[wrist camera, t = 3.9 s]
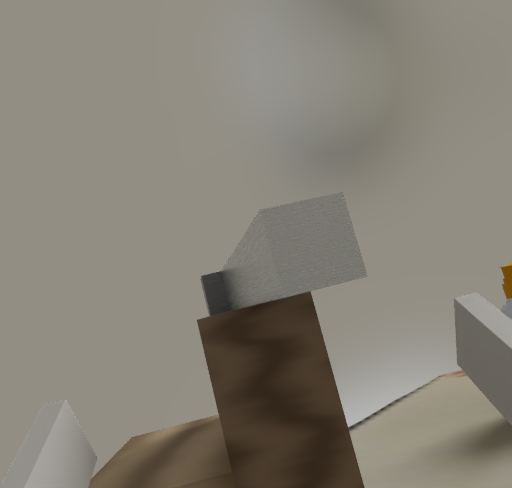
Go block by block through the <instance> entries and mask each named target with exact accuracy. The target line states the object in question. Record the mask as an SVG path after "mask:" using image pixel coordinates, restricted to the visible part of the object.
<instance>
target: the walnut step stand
mask: <svg viewBox="0 0 512 488" xmlns="http://www.w3.org/2000/svg"><path fill="white" fill-rule="evenodd" d="M197 322H198V327H199V331H200V335H201V340H202V344H203V348H204V353H205V357H206V361H207V366H208V370H209V374H210V378H211V383H212V387H213V392H214V396H215V400H216V405H217V409H218V413H219V415H215V416H211V417H208V418H204V419H200V420H196V421H193V422H189V423H185V424H181V425H177V426H174V427H170V428H166V429H162V430H158V431H155V432H151V433H147V434H143V435H140V436H135V437H132V438H131V439H130V440H129V441H128V442H127V443H126V444H125V445H124V446H123V447H122V448H121V449H120V450H119V451H118V452H117V453H116V454H115V455H114V456H113V457H112V458H111V459H110V460H109V461H108V463H106V465H105V466H104V467H103V468H102V469H101V470H100V471H99V472H98V473H97V474H96V475H95V476H94V477H93V478H92V479H91V480H90V484H89V487H88V488H364V485H363V481H362V477H361V474H360V470H359V466H358V463H357V459H356V455H355V452H354V448H353V445H352V441H351V437H350V434H349V430H348V426H347V423H346V419H345V415H344V412H343V409H342V404H341V401H340V398H339V394H338V390H337V386H336V383H335V379H334V375H333V372H332V368H331V365H330V361H329V357H328V353H327V350H326V346H325V342H324V339H323V335H322V332H321V328H320V324H319V321H318V317H317V313H316V310H315V306H314V302H313V299H312V295H311V291H309V292H305V293H301V294H297V295H294V296H290V297H286V298H282V299H278V300H274V301H270V302H265V303H261V304H257V305H253V306H249V307H245V308H241V309H236V310H232V311H228V312H224V313H221V314H217V315H213V316H209V317H206V318H202V319H199V320H197Z"/></svg>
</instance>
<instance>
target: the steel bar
mask: <svg viewBox="0 0 512 488" xmlns="http://www.w3.org/2000/svg"><path fill="white" fill-rule="evenodd" d="M366 276H367V274H366V270H365V266H364V263H363V260H362V256H361V253H360V249H359V246H358V243H357V239H356V236H355V233H354V229H353V226H352V222H351V219H350V216H349V212H348V209H347V206H346V202H345V199H344V195H343V193H337V194H332V195H328V196H323V197H318V198H314V199H309V200H304V201H299V202H294V203H290V204H285V205H281V206H276V207H272V208H266V209H261V210H260V211H259V212H258V214H257V215H256V217H255V218H254V220H253V222H252V223H251V225H250V226H249V228H248V230H247V231H246V233H245V234H244V236H243V238H242V239H241V241H240V242H239V244H238V245H237V247H236V249H235V250H234V252H233V253H232V255H231V256H230V258H229V260H228V261H227V263H226V264H225V266H224V268H223V269H222V271H220V272H216V273H212V274H208V275H204V276H201V283H202V288H203V291H204V296H205V300H206V304H207V309H208V313H209V316H213V315H217V314H221V313H224V312H228V311H232V310H236V309H241V308H245V307H249V306H253V305H257V304H261V303H265V302H270V301H274V300H278V299H282V298H286V297H290V296H294V295H297V294H301V293H305V292H309V291H313V290H317V289H320V288H324V287H328V286H332V285H336V284H340V283H343V282H347V281H351V280H355V279H359V278H363V277H366Z"/></svg>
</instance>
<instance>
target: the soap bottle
mask: <svg viewBox="0 0 512 488" xmlns="http://www.w3.org/2000/svg"><path fill="white" fill-rule="evenodd" d="M500 268H501V269H502V272H503V275H504V277H505V278H504V279H503V281H504V283H505V284H502V286H503V289H504V292H505V295H506V298H507V302H506V304H505V305H503V307H502V309H501V312H502V313H504V314H505V315H506V316H507V317H509V318H510V319H511V320H512V263H509V264H508V265H506V266H503V267H500Z"/></svg>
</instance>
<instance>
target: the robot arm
mask: <svg viewBox="0 0 512 488" xmlns="http://www.w3.org/2000/svg"><path fill="white" fill-rule="evenodd" d="M454 308H455V327H456V346H457V364H458V365H459V366H460V367H461V369H462V370H463V371H464V372H465V373H466V374H467V376H468V377H469V378H470V379H471V380H472V381H473V382H474V384H475V385H476V386H477V387H478V388H479V389H480V390H481V391H482V393H483V394H484V395H485V396H486V397H487V398H488V399H489V401H490V402H491V403H492V404H493V405H494V406H495V407H496V408H497V410H498V411H499V412H500V413H501V414H502V415H503V416H504V418H505V419H506V420H507V421H508V422H509V423H510V424H511V426H512V320H511V319H510V318H509V317H507V316H506V315H505V314H504V313H502V312H501V311H500V310H498V309H497V308H496V307H494V306H493V305H492V304H491V303H489V302H488V301H487V300H485V299H484V298H483V297H482V296H480V295H479V294H478V293H477V292H476V293H472V294H468V295H464V296H460V297H456V298H454ZM96 460H97V456H96V455H95V453H94V451H93V449H92V447H91V445H90V443H89V441H88V440H87V438H86V436H85V434H84V432H83V430H82V428H81V427H80V425H79V423H78V421H77V419H76V417H75V415H74V414H73V412H72V410H71V408H70V406H69V404H68V402H67V401H66V399H63V400H59V401H56V402H52V403H48V404H44V405H42V407H41V409H40V411H39V413H38V415H37V417H36V419H35V420H34V422H33V424H32V426H31V428H30V430H29V432H28V434H27V436H26V438H25V439H24V441H23V443H22V445H21V447H20V449H19V451H18V453H17V455H16V456H15V459H14V460H13V462H12V464H11V466H10V468H9V470H8V472H7V474H6V476H5V477H4V480H3V481H2V483H1V485H0V488H88V487H89V484H90V480H91V477H92V474H93V470H94V467H95V464H96Z"/></svg>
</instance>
